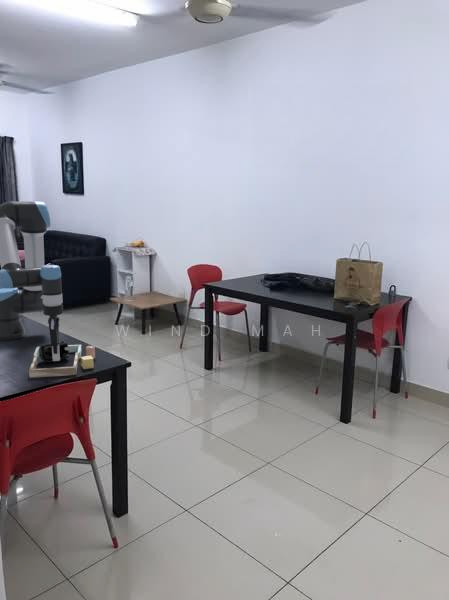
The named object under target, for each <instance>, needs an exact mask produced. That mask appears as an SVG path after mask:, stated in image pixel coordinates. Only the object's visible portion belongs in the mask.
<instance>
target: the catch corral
mask: <svg viewBox="0 0 449 600" xmlns="http://www.w3.org/2000/svg"><path fill="white" fill-rule="evenodd" d="M40 347H41V346H37V347H35V351H34V353H33V358H34V357H35V355H38V358H39V357H40V354H39V348H40ZM65 350H69V353H78V358H79V360H81V357H82V351H83V350H82V344H68V347H65Z"/></svg>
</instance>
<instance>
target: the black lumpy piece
mask: <svg viewBox="0 0 449 600" xmlns="http://www.w3.org/2000/svg"><path fill="white" fill-rule="evenodd" d="M60 342H61V344H59V351H60V360H64V359H68V358H70V355H69V354H70V352H69V350H65V347H68V345H69V344H68V343H65V341H63V340H62V341H60ZM50 344H51V343H49V344H43V345H41V346H39V347H40V348H39V357H40V359H41V360H42V361H43V362H45V363H52V362H54V361H53V358H52V346H50Z"/></svg>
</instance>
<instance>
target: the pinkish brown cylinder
mask: <svg viewBox="0 0 449 600" xmlns="http://www.w3.org/2000/svg"><path fill="white" fill-rule="evenodd" d="M95 350H96V346H94V345H87V346H86V347H85V353H86V354H85V356H92V358H93V360H95V359H96V351H95Z"/></svg>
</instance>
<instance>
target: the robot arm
mask: <svg viewBox="0 0 449 600" xmlns="http://www.w3.org/2000/svg"><path fill="white" fill-rule="evenodd" d="M50 227H51V218H50V213H49V209H48V206H47V205H46V202H43V201H35V200H33V201H30V200H29V201H25V200H24V201H20V200H19V201H12V200H10V201H6V202H3V203H1V204H0V268H1V269H0V341H4V342H5V341H14V340H18V339H21V338H23V337H25V336H26V329H25V326H24V325H23V322H22V320H21V315H22V314H23V315H25V314H33V313H35V314H36V313H43V315H44V316H48V319H47V323H48V329H49V336H50V338H49V339H50V343H49V344H50V346H52V358H53V362H59V361H61V359H60V351H59V344H61V342H62V341H60V329H59V327H60V317H58V316H60V315H63V313H64V305H63V292H62V291H63V290H62V271H61V266H59V265H57V264H56V265H55V264H47V265H45V245H44V243H45V242H44V235H45V234H46V233H47V232H48V231H47V229H48V228H50ZM16 228H17V229H18V228H19V232H20V233H21V234H22V235H23V245H24V246H23V249H24V266H25V267H24V268H22V264H21V259H20V253H19V249H18V244H17V239H16V235H15V229H16ZM20 288H22V289H20Z"/></svg>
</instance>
